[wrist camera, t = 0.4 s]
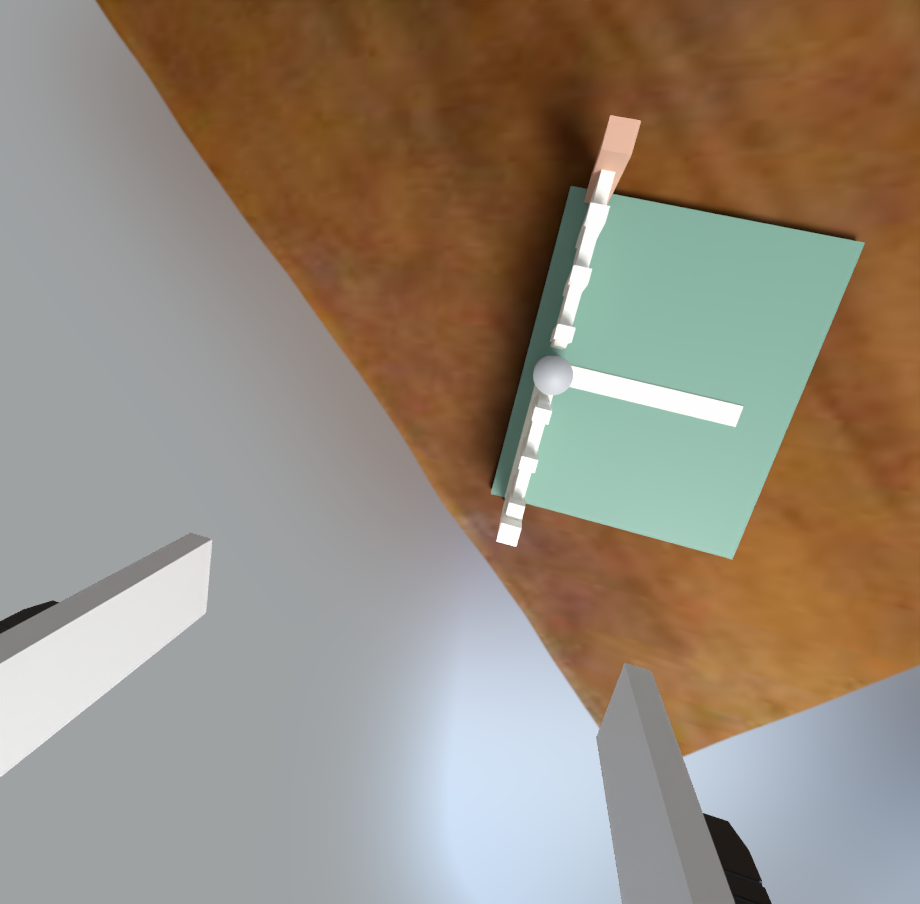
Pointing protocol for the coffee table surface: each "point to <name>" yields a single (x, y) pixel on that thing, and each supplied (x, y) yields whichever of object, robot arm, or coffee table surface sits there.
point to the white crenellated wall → (595, 218)
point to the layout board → (675, 367)
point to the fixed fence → (533, 442)
